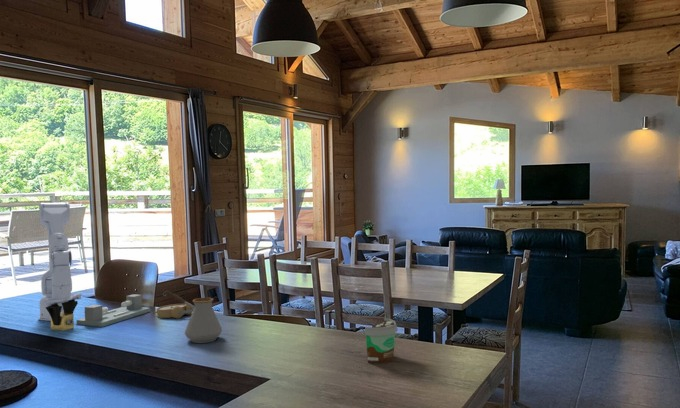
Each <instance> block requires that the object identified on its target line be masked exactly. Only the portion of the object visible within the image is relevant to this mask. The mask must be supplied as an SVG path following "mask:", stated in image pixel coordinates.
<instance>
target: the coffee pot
mask: <svg viewBox="0 0 680 408" xmlns="http://www.w3.org/2000/svg"><path fill="white" fill-rule="evenodd" d="M164 294H165V295H164ZM168 294H169V296H171V297H172V298H174V299H175V300H176V301H179V302H181V304H186V305H188V306H189V307H191V308H193V311H192V313H191V314H190V318H189V320H188V323H187V325H186V328H185V330H184V335H185V337H186V338H187V339H189V341H190V342H192V343H194V344H205V343H210V342H214V341H216V339H217V338H218V337H219V336H220V335H221V333H222V332H223V329H222V326H221V324H220V322H219V319H218V318H217V315H216V312H215V310H214V309H213V306H212V304H213V301H214V298H212V297H198V298H194V299H193V300H192V303H193V304H192V303H190V302H188V301H187V300H185V299H183V298H182V297H180V296H179V295H177V294H175V293H173V292H172V291H169V290H165V291H164V292H163V293H162V296H167V295H168Z"/></svg>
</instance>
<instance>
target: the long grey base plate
mask: <svg viewBox="0 0 680 408" xmlns="http://www.w3.org/2000/svg"><path fill="white" fill-rule="evenodd" d="M125 299H126V300H125V301H123V302H121V304H120V307H118V308H113V309H110V310H109V308H108V307H107V306H104V307H103V305H100V304H92V305H91V304H90V305H88V306H84V317H82V318H79V319H76V325H81V326H90V327H92V326H93V327H100V328H103V327H105V326H110V325H112V324H115V323H118V322H122V321H125V320H128V319H131V318H134V317H137V316H141V315H144V314H146V313H150V311H151V307H143V304H142V303H143V302H142V301H143V300H142V294H130V295H129V294H128V295H126V297H125Z"/></svg>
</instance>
